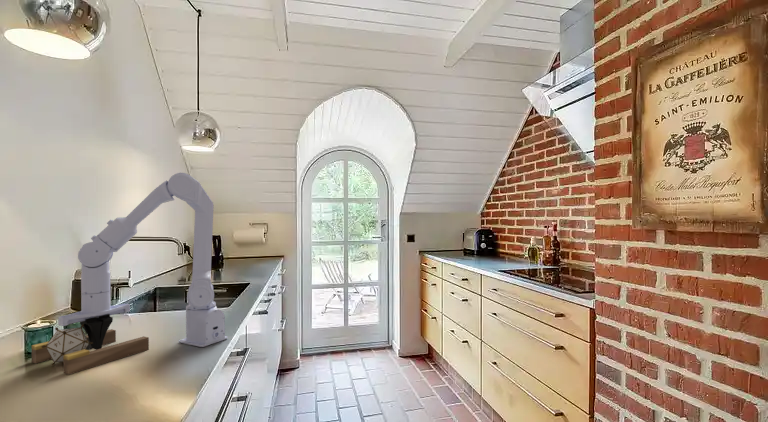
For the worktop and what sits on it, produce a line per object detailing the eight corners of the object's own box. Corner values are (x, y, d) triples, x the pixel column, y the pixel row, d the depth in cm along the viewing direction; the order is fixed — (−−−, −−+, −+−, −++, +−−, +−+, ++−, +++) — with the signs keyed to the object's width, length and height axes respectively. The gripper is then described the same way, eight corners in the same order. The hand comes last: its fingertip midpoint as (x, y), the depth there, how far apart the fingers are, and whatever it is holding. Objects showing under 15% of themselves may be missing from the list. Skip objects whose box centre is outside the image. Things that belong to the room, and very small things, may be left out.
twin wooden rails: (148, 349, 98) (148, 334, 98) (68, 374, 83) (68, 356, 83) (111, 340, 106) (111, 326, 106) (31, 362, 91) (31, 345, 91)
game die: (70, 380, 89) (61, 353, 83) (37, 366, 90) (26, 338, 84) (104, 349, 96) (98, 323, 91) (73, 336, 97) (65, 309, 92)
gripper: (118, 285, 104) (119, 337, 103) (51, 296, 91) (52, 355, 91) (134, 287, 100) (135, 341, 100) (67, 298, 87) (67, 360, 87)
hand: (96, 348), depth 95 cm, fingers closed
